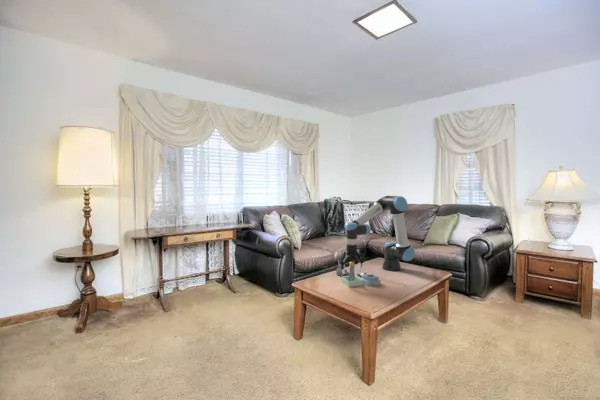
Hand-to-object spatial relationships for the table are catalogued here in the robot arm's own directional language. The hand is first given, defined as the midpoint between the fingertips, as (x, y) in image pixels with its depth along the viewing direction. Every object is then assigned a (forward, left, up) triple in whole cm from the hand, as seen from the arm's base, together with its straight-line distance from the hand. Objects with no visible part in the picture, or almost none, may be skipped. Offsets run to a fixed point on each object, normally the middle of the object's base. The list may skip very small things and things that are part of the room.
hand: (351, 272), depth 214 cm
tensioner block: (-14, 0, -8) cm, 16 cm away
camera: (-3, -18, -8) cm, 20 cm away
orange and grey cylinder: (0, 0, -7) cm, 7 cm away
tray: (0, 0, -8) cm, 8 cm away
